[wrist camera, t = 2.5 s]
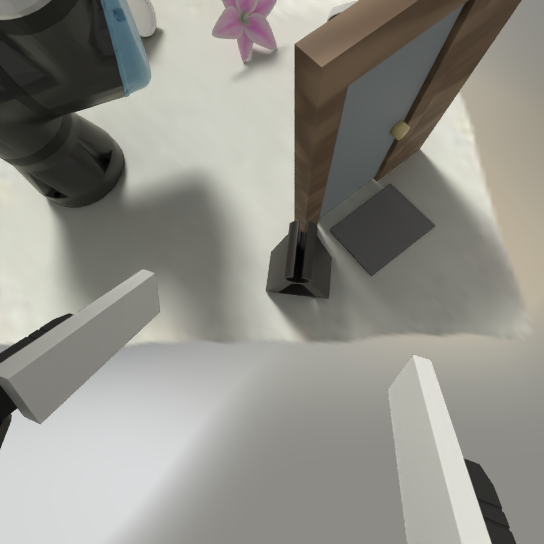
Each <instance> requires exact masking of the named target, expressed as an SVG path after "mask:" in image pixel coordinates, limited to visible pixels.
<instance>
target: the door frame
mask: <svg viewBox="0 0 544 544" xmlns="http://www.w3.org/2000/svg"><path fill="white" fill-rule="evenodd" d="M520 2H521V0H359V1H357V2H356V3H354V4H353V5H351V6H350V7H349V8H347V9H346V10H344V11H343V12H341V13H340V14H338V15H337V16H335V17H334V18H332V19H331V20H329V21H328V22H326V23H325V24H323V25H322V26H320V27H319V28H318V29H316V30H315V31H313V32H312V33H310V34H309V35H307V36H306V37H304V38H303V39H301V40H300V41H298V42H297V43H295V221H298V220H299V221H300V227H299V230H300V231H302V232H305V231H306V230H307V222H308V221H310V222H313V223H315V224H316V225H318V220H319V215H320V211H321V206H322V201H323V197H324V192H325V187H326V183H327V178H328V173H329V169H330V164H331V159H332V155H333V150H334V145H335V141H336V136H337V131H338V127H339V122H340V117H341V113H342V108H343V103H344V99H345V94H346V89H347V86H349V85H350V84H351V83H353V82H354V81H356V80H357V79H358V78H360V77H361V76H363V75H364V74H365V73H367V72H368V71H370V70H371V69H373V68H374V67H375V66H377V65H378V64H380V63H381V62H382V61H384V60H385V59H387V58H388V57H389V56H391V55H392V54H394V53H395V52H397V51H398V50H399V49H401V48H402V47H404V46H405V45H406V44H408V43H409V42H411V41H412V40H413V39H415V38H416V37H418V36H419V35H421V34H422V33H423V32H425V31H426V30H428V29H429V28H430V27H432V26H433V25H435V24H436V23H437V22H439V21H440V20H442V19H443V18H445V17H446V16H447V15H449V14H450V13H452V12H453V11H454V10H456V9H457V8H459V7H460V6H461V5H463V4H464V3H465V4H464V6H463V8H462V10H461V12H460V14H459V16H458V18H457V19H456V21H455V23H454V25H453V27H452V29H451V31H450V33H449V35H448V37H447V39H446V41H445V43H444V45H443V46H442V48H441V50H440V52H439V54H438V56H437V58H436V60H435V62H434V64H433V66H432V68H431V70H430V71H429V73H428V75H427V77H426V79H425V81H424V83H423V85H422V87H421V89H420V91H419V93H418V95H417V97H416V98H415V100H414V102H413V104H412V106H411V108H410V110H409V112H408V114H407V116H406V118H405V120H404V122H405V123H406V124H407V125H408V126H410V129H409V131H408V132H407V134H406V135H405V136H404V137H403V138H402V139H400V140H397V139H396V138H395V139H394V141H393V143H392V145H391V147H390V149H389V150H388V152H387V154H386V156H385V158H384V160H383V162H382V164H381V166H380V168H379V170H378V172H377V174H376V176H375V177H374V179H375V180H376V181H378V180H379V179H380V178H381V177H383V176H384V175H385V174H387V173H388V172H389V171H391V170H392V169H393V168H395V167H396V166H397V165H399V164H400V163H401V162H403V161H404V160H405V159H407V158H408V157H409V156H411V155H412V154H413V153H415V152H416V151H417V150H419V149H420V148H421V146H422V145H423V143H424V142H425V140H426V139H427V137H428V136H429V135H430V133H431V132H432V130H433V129H434V127H435V126H436V124H437V123H438V121H439V120H440V119H441V117H442V116H443V114H444V113H445V111H446V110H447V108H448V107H449V105H450V104H451V102H452V101H453V100H454V98H455V97H456V95H457V94H458V92H459V91H460V89H461V88H462V86H463V85H464V83H465V82H466V81H467V79H468V78H469V76H470V75H471V73H472V72H473V70H474V69H475V67H476V66H477V64H478V63H479V62H480V60H481V59H482V57H483V56H484V54H485V53H486V51H487V50H488V48H489V47H490V45H491V44H492V43H493V41H494V40H495V38H496V37H497V35H498V34H499V32H500V31H501V29H502V28H503V27H504V25H505V24H506V22H507V21H508V19H509V18H510V16H511V15H512V13H513V12H514V10H515V9H516V7H517V6H518V5H519V3H520Z"/></svg>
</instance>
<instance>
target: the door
mask: <svg viewBox="0 0 544 544" xmlns="http://www.w3.org/2000/svg"><path fill="white" fill-rule="evenodd" d="M464 4H465V3H464ZM464 4H463V5H461V6H460V7H459V8H457V9H456V10H454V11H453V12H452V13H450V14H449V15H447V16H446V17H445V18H443V19H442V20H440V21H439V22H437V23H436V24H435V25H433V26H432V27H430V28H429V29H428V30H426V31H425V32H423V33H422V34H421V35H419V36H418V37H416V38H415V39H413V40H412V41H411V42H409V43H408V44H406V45H405V46H404V47H402V48H401V49H399V50H398V51H397V52H395V53H394V54H392V55H391V56H389V57H388V58H387V59H385V60H384V61H382V62H381V63H380V64H378V65H377V66H375V67H374V68H373V69H371V70H370V71H368V72H367V73H365V74H364V75H363V76H361V77H360V78H358V79H357V80H356V81H354V82H353V83H351V84H350V85H349V86H347V89H346V94H345V99H344V103H343V108H342V113H341V117H340V122H339V127H338V131H337V136H336V141H335V145H334V150H333V155H332V159H331V164H330V169H329V173H328V178H327V183H326V187H325V192H324V197H323V201H322V206H321V211H320V215H319V218H321V217H322V216H323V215H325V214H326V213H327V212H329V211H330V210H331V209H333V208H334V207H335V206H337V205H338V204H339V203H341V202H342V201H343V200H345V199H346V198H347V197H349V196H350V195H351V194H353V193H354V192H355V191H357V190H358V189H359V188H361V187H362V186H363V185H365V184H366V183H367V182H369V181H370V180H371V179H373V178H374V177H375V176H376V174H377V172H378V170H379V168H380V166H381V164H382V162H383V160H384V158H385V156H386V154H387V152H388V150H389V149H390V147H391V145H392V143H393V141H394V139H395V138H396V139H397V140H400V139H402V138H403V137H404V136H405V135H406V134H407V132H408V131H409V129H410V126H408V125H407V124H406V123H405V122H404V120H405V118H406V116H407V114H408V112H409V110H410V108H411V106H412V104H413V102H414V100H415V98H416V97H417V95H418V93H419V91H420V89H421V87H422V85H423V83H424V81H425V79H426V77H427V75H428V73H429V71H430V70H431V68H432V66H433V64H434V62H435V60H436V58H437V56H438V54H439V52H440V50H441V48H442V46H443V45H444V43H445V41H446V39H447V37H448V35H449V33H450V31H451V29H452V27H453V25H454V23H455V21H456V19H457V18H458V16H459V14H460V12H461V10H462V8H463V6H464Z"/></svg>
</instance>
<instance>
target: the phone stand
mask: <svg viewBox="0 0 544 544" xmlns="http://www.w3.org/2000/svg"><path fill="white" fill-rule="evenodd" d="M299 227H300V221H299V220H298V221H294V222H291V223H290V226H289V234H288V235H287V236H286V237H285V238H284V239H283V240H282V241H281V242H280V243H279V244H278V245H277V246H276V247H275V249H274V250H273V251H272V252H271V257H270V264H269V271H268V279H267V286H266V291H267V292H274V293H283V294H291V295H300V296H309V297H318V298H326V299H328V298H329V287H330V274H331V261H332V258H331V256H330V255H329V253H328V252H327V250H326V249H325V247H324V246H323V244H322V243H321V241H320V240H319V238H318V237H317V225H316V224H315V223H313V222H310V221H308V222H307V230H306V231H305V232H302V231H299Z"/></svg>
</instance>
